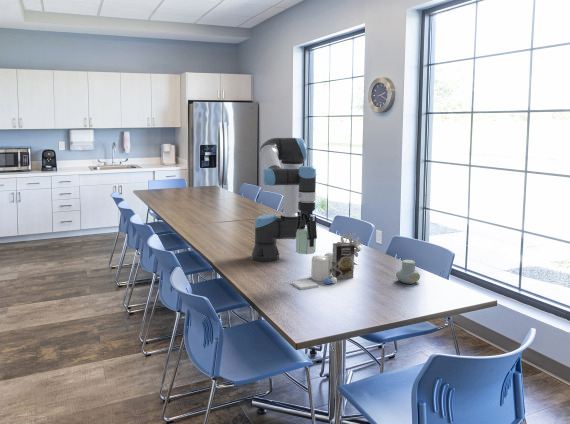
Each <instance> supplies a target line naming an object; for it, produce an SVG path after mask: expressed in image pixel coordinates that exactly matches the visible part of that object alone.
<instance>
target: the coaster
mask: <svg viewBox="0 0 570 424" xmlns="http://www.w3.org/2000/svg"><path fill="white" fill-rule="evenodd" d="M291 285H293V286H294V287H296V288H297V289H299V290H302V291H303V290H309V289H314V288H319V284H318V283H316V282H314V280H311V279H302V280H294V281H291Z"/></svg>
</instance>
